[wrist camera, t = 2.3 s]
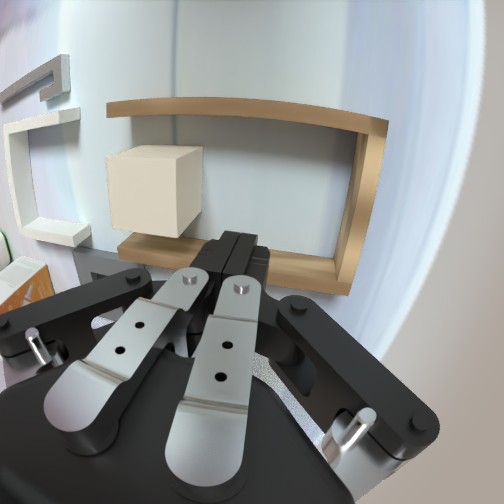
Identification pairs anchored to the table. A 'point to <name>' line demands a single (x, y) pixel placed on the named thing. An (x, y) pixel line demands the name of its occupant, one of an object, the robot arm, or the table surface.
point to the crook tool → (54, 66)
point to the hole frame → (100, 269)
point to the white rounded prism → (3, 253)
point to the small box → (23, 284)
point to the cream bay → (23, 183)
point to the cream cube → (155, 188)
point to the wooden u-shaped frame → (281, 263)
